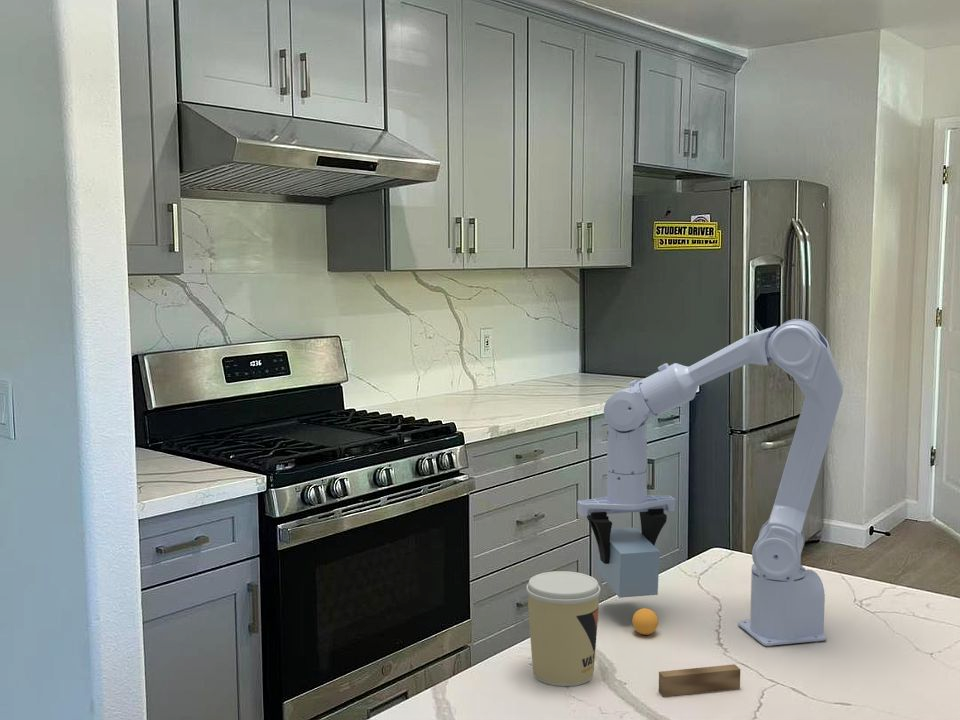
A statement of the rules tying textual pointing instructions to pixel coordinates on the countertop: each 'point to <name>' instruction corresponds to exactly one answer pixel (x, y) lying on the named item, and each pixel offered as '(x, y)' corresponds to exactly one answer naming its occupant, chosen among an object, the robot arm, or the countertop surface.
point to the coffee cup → (563, 626)
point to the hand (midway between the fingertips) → (625, 560)
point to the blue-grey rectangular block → (631, 564)
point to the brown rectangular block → (699, 680)
